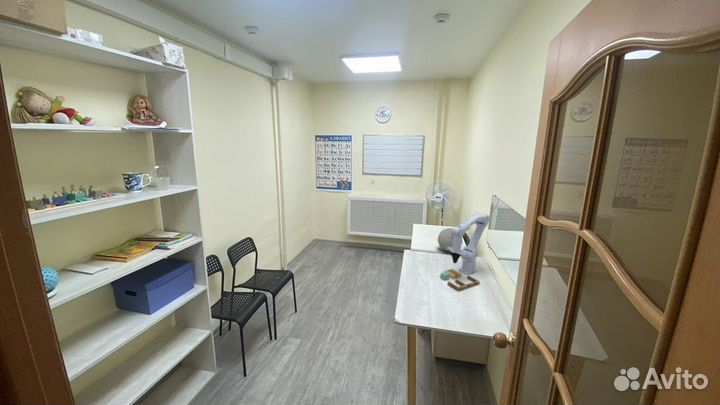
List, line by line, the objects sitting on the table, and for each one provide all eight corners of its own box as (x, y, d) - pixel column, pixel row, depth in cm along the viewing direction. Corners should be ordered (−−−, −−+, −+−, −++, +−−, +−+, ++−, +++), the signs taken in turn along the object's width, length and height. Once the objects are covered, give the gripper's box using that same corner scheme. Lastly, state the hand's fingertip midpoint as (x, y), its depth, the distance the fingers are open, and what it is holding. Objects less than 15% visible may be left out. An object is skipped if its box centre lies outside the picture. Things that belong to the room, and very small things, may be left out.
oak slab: (452, 272, 197) (452, 268, 197) (461, 277, 190) (461, 273, 190) (444, 274, 193) (444, 270, 193) (453, 279, 187) (453, 275, 186)
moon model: (436, 253, 229) (438, 231, 225) (437, 245, 248) (438, 224, 244) (461, 256, 224) (464, 233, 220) (460, 248, 243) (462, 226, 238)
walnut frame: (468, 278, 188) (468, 275, 188) (479, 284, 180) (479, 281, 180) (447, 285, 179) (447, 282, 178) (458, 291, 171) (458, 288, 170)
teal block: (444, 277, 189) (444, 271, 189) (448, 279, 186) (449, 274, 185) (440, 278, 187) (440, 273, 187) (444, 280, 184) (445, 275, 183)
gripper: (444, 242, 190) (442, 260, 193) (461, 248, 178) (459, 268, 181) (451, 240, 194) (450, 258, 196) (468, 247, 181) (466, 266, 184)
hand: (455, 262), depth 189 cm, fingers closed
